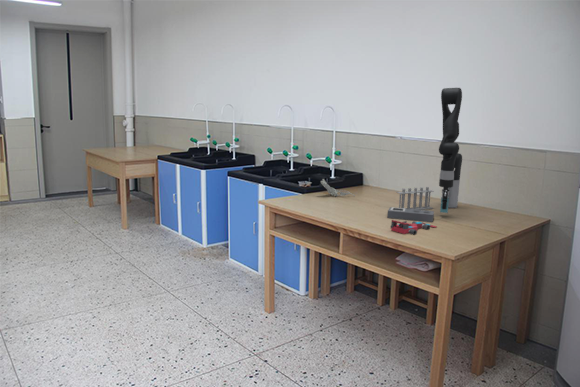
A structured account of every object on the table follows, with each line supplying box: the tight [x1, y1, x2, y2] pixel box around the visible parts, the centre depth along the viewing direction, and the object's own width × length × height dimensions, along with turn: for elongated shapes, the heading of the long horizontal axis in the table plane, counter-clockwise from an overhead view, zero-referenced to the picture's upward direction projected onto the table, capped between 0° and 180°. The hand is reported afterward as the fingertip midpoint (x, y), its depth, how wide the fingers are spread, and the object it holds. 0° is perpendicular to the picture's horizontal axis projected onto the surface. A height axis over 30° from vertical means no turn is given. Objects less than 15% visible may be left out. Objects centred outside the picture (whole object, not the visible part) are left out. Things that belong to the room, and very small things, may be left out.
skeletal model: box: [320, 178, 356, 197], centre depth 324 cm, size 16×9×25 cm
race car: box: [390, 219, 438, 236], centre depth 243 cm, size 14×6×25 cm
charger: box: [439, 196, 449, 214], centre depth 271 cm, size 4×4×8 cm
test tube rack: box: [396, 186, 435, 210], centre depth 288 cm, size 25×4×13 cm, turn 116°
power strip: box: [386, 206, 435, 223], centre depth 266 cm, size 10×24×4 cm, turn 71°
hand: (444, 208), depth 272 cm, fingers closed on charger, 4 cm apart
